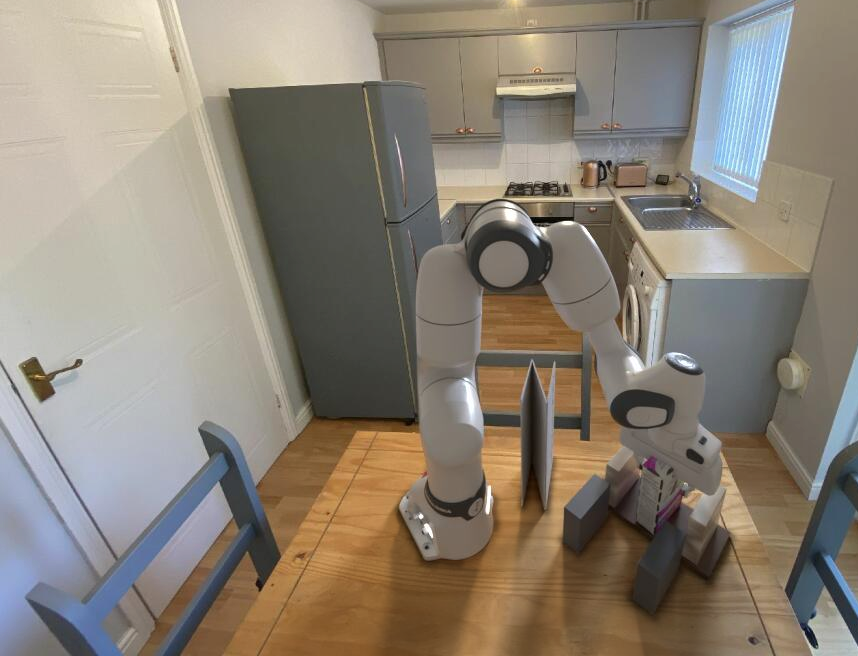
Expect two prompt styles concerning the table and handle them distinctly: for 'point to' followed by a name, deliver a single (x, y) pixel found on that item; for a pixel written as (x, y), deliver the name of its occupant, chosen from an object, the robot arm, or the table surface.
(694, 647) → the table surface
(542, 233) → the robot arm
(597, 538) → the table surface
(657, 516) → the candy bar box
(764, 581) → the table surface
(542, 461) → the brochure
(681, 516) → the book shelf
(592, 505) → the dark gray block pair
